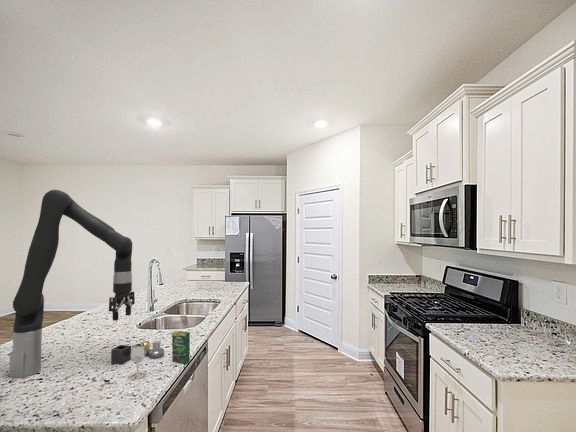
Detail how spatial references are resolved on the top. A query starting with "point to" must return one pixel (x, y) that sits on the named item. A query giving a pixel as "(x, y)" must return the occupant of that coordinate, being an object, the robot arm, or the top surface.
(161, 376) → the top surface
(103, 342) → the top surface
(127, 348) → the socket
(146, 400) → the top surface
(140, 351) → the wineglass
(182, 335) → the coffee box
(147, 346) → the socket
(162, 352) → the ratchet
